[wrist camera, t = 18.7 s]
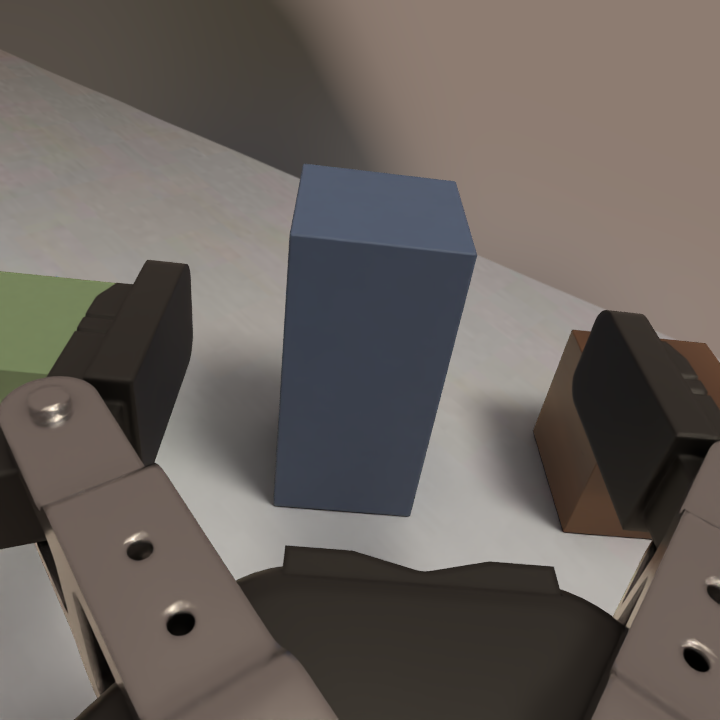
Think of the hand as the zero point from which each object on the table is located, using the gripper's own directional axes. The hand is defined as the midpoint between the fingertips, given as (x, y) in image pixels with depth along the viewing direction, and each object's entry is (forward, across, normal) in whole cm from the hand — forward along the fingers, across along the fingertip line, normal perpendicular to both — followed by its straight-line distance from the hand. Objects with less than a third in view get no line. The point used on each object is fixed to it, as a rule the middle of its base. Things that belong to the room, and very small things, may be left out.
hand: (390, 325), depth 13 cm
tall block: (+6, 0, +10) cm, 12 cm away
